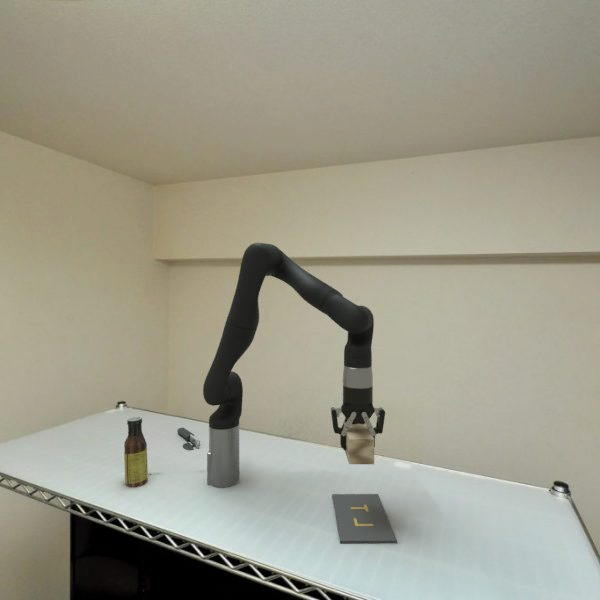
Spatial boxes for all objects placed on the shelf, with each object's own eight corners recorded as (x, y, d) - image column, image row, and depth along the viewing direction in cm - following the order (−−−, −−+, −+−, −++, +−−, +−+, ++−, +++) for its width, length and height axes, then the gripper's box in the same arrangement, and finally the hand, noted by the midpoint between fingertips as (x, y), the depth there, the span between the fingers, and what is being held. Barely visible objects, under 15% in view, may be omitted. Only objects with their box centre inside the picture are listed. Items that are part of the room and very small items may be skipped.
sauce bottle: (152, 482, 110) (152, 417, 111) (135, 492, 105) (135, 423, 105) (136, 478, 113) (136, 414, 113) (119, 487, 108) (119, 420, 108)
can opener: (203, 453, 132) (203, 439, 132) (186, 457, 129) (186, 443, 129) (187, 437, 148) (187, 424, 148) (171, 440, 145) (171, 427, 145)
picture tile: (340, 543, 82) (340, 540, 82) (332, 496, 102) (332, 494, 102) (397, 543, 82) (397, 540, 82) (378, 496, 102) (378, 493, 102)
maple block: (349, 464, 86) (349, 439, 86) (342, 444, 98) (342, 422, 98) (374, 464, 87) (374, 439, 87) (364, 444, 99) (364, 422, 99)
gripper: (330, 387, 89) (330, 455, 89) (389, 387, 89) (389, 455, 89) (328, 380, 96) (328, 443, 96) (382, 380, 96) (382, 443, 96)
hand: (357, 448), depth 92 cm, fingers closed on maple block, 6 cm apart
